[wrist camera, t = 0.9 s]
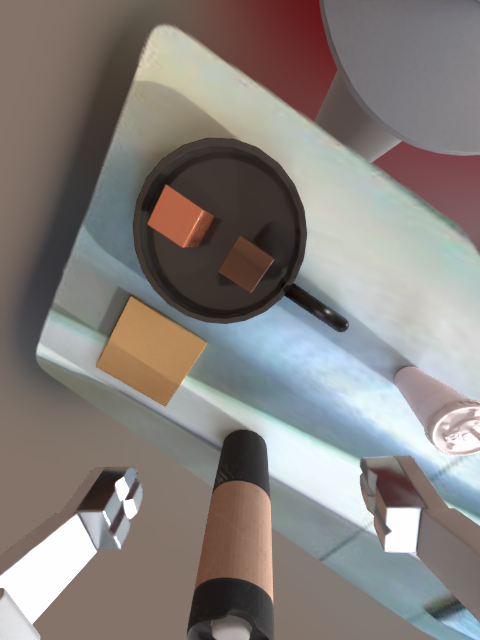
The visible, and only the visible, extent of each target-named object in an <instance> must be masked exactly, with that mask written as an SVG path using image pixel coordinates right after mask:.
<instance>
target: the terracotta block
mask: <svg viewBox="0 0 480 640" xmlns="http://www.w3.org/2000/svg"><path fill="white" fill-rule="evenodd" d="M214 217H215V216H214V215H212V214H211V213H210V212H208V211H207V210H205V209H204V208H202V207H201V206H199V205H198V204H197V203H195V202H194V201H192V200H191V199H189V198H188V197H186V196H185V195H183V194H182V193H180V192H178V191H176V190H175V189H173V188H171V187H170V186H168V185H165V187H164V189H163V191H162V193H161V195H160V198H159V200H158V202H157V204H156V206H155V208H154V210H153V213H152V215H151V217H150V219H149V221H148V223H147V224H148V225H149V226H151V227H152V228H154V229H155V230H157V231H158V232H160V233H161V234H163V235H164V236H166V237H167V238H169V239H170V240H172V241H173V242H175V243H176V244H178V245H179V246H181V247H182V248H185V247H195V246H199V244H200V242H201V240H202V238H203V237H204V235H205V233H206V231H207V230H208V228H209V226H210V224H211V222H212V221H213V219H214Z"/></svg>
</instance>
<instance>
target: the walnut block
mask: <svg viewBox="0 0 480 640" xmlns="http://www.w3.org/2000/svg"><path fill="white" fill-rule="evenodd" d="M273 260H274V259H273V257H272V256H271V255H270V254H269V253H267V252H266V251H264V250H263V249H261V248H260V247H258V246H257V245H256V244H254V243H253V242H251V241H250V240H248V239H247V238H245V237H244V236H239V237H238V239H237V240H236V242H235V243H234V245H233V247H232V248H231V250H230V252H229V253H228V255H227V257H226V258H225V260H224V261H223V263H222V265H221V266H220V268H219V270H218V272H220V273H221V274H223V275H224V276H226V277H227V278H229V279H230V280H232V281H233V282H235V283H236V284H238V285H239V286H241V287H242V288H244V289H245V290H247V291H248V292H250V293H251V292H252V291H253V290H254V288H255V287H256V285H257V284H258V282H259V281H260V279H261V278H262V276H263V275H264V274H265V272H266V271H267V269H268V268H269V266H270V265H271V263H272V262H273Z"/></svg>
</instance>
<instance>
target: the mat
mask: <svg viewBox="0 0 480 640" xmlns="http://www.w3.org/2000/svg"><path fill="white" fill-rule="evenodd" d="M207 343H208V342H206V341H204V340H203V339H201V338H200V337H198V336H196V335H195V334H193V333H192V332H190V331H188V330H187V329H185V328H184V327H182V326H180V325H179V324H177V323H176V322H174V321H172V320H171V319H169V318H168V317H166V316H164V315H163V314H161V313H160V312H158V311H156V310H155V309H153V308H151V307H150V306H148V305H147V304H145V303H143V302H142V301H140V300H139V299H137V298H135V297H134V296H131V297H130V299H129V301H128V303H127V305H126V307H125V309H124V311H123V313H122V315H121V317H120V319H119V321H118V323H117V325H116V327H115V329H114V331H113V333H112V335H111V337H110V339H109V341H108V343H107V345H106V347H105V349H104V351H103V353H102V355H101V357H100V359H99V361H98V363H97V365H96V367H98V368H99V369H101V370H103V371H105V372H106V373H108V374H110V375H112V376H113V377H115V378H117V379H119V380H120V381H122V382H124V383H125V384H127V385H129V386H131V387H132V388H134V389H136V390H138V391H139V392H141V393H143V394H145V395H146V396H148V397H150V398H151V399H153V400H155V401H157V402H158V403H160V404H162V405H164V406H166V405H167V403H168V402H169V400H170V399H171V397H172V396H173V394H174V393H175V391H176V390H177V388H178V387H179V385H180V384H181V382H182V381H183V379H184V378H185V376H186V375H187V373H188V372H189V370H190V369H191V367H192V366H193V364H194V363H195V361H196V360H197V358H198V357H199V355H200V354H201V352H202V351H203V349H204V348H205V347H206V345H207Z"/></svg>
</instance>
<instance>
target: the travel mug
mask: <svg viewBox="0 0 480 640" xmlns="http://www.w3.org/2000/svg"><path fill="white" fill-rule="evenodd" d="M271 542H272V541H271V505H270V488H269V473H268V458H267V447H266V444H265V441H264V440H263V438H262V437H261V436H259V435H258V434H257V433H255V432H252V431H248V430H239V431H235V432H233V433H231V434H229V435H228V436H227V437H226V439H225V441H224V444H223V448H222V452H221V456H220V461H219V465H218V470H217V474H216V479H215V483H214V488H213V492H212V497H211V502H210V508H209V513H208V519H207V524H206V530H205V535H204V541H203V546H202V552H201V557H200V563H199V568H198V574H197V579H196V584H195V590H194V596H193V601H192V607H191V612H190V617H189V623H188V629H187V639H188V640H274V617H273V616H274V614H273V578H272V543H271Z"/></svg>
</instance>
